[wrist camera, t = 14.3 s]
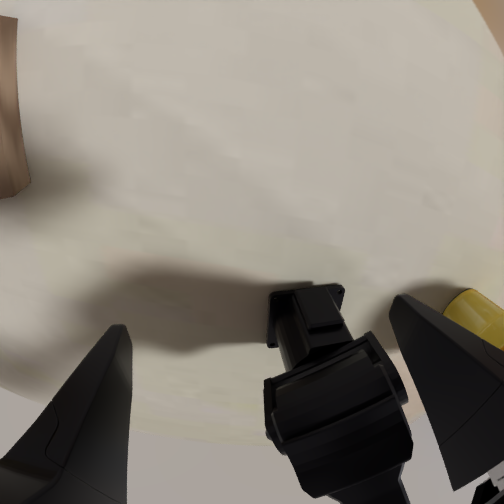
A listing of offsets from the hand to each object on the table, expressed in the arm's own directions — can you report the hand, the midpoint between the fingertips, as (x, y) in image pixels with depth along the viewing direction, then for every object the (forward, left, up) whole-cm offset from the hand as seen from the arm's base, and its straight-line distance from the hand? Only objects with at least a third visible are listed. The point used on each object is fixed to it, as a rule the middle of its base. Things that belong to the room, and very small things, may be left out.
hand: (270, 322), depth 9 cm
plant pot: (-16, -28, -12) cm, 34 cm away
